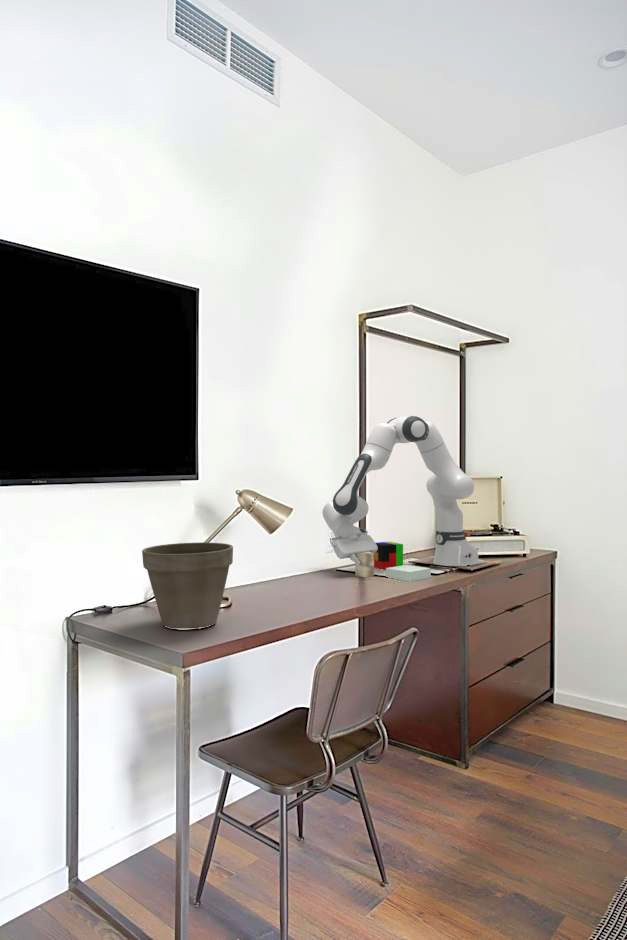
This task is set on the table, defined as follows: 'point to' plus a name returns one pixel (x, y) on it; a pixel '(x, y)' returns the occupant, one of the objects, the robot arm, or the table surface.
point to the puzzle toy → (388, 555)
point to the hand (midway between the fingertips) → (365, 563)
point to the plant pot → (188, 581)
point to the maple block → (365, 564)
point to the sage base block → (408, 573)
